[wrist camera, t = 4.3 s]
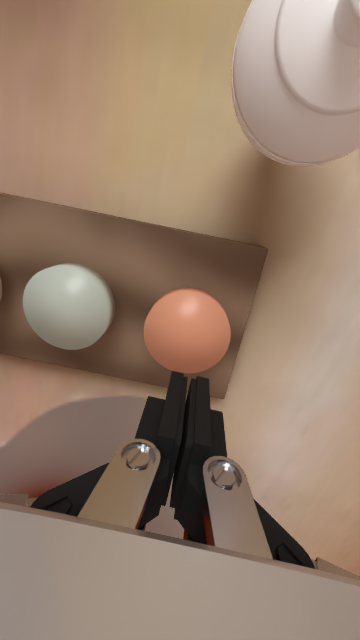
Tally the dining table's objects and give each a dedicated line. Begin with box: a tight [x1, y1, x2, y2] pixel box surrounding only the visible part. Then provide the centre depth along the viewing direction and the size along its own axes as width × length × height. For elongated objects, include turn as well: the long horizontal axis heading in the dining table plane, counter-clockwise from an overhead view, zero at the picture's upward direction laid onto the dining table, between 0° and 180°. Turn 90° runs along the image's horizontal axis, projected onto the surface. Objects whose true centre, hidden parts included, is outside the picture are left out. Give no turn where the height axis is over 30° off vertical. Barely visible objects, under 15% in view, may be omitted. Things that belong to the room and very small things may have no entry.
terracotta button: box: [144, 287, 231, 374], centre depth 20 cm, size 6×6×2 cm
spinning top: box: [231, 0, 360, 166], centre depth 13 cm, size 8×8×12 cm
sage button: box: [23, 263, 115, 350], centre depth 20 cm, size 6×6×2 cm
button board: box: [0, 193, 268, 399], centre depth 23 cm, size 13×26×2 cm, turn 79°
